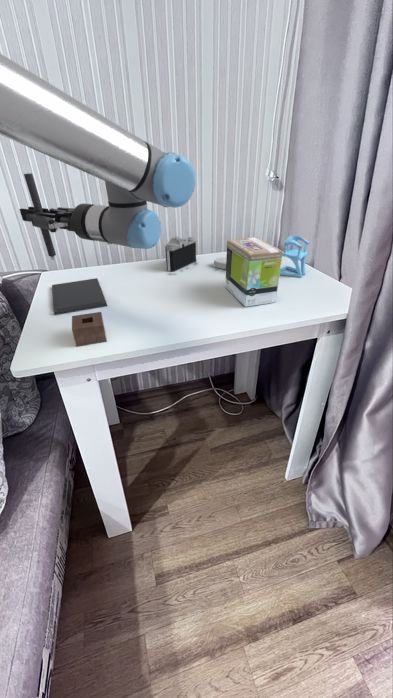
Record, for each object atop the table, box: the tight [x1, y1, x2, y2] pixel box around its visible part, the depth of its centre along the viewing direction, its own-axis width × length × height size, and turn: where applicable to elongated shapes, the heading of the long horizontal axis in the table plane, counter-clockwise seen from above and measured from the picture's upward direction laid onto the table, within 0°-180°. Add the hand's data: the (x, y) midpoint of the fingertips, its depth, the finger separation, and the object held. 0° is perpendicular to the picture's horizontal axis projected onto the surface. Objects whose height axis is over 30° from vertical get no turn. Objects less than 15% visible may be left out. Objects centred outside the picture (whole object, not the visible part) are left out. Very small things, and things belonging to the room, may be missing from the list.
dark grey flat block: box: [51, 277, 108, 316], centre depth 96 cm, size 20×14×1 cm
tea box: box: [224, 236, 284, 307], centre depth 91 cm, size 15×10×15 cm
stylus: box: [23, 172, 57, 261], centre depth 79 cm, size 2×2×20 cm
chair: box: [279, 235, 310, 278], centre depth 105 cm, size 8×8×12 cm
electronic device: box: [213, 256, 227, 271], centre depth 110 cm, size 5×10×15 cm
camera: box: [164, 235, 197, 273], centre depth 114 cm, size 15×7×10 cm, turn 143°
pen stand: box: [71, 311, 108, 347], centre depth 76 cm, size 7×7×4 cm
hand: (26, 213), depth 81 cm, fingers closed on stylus, 2 cm apart
